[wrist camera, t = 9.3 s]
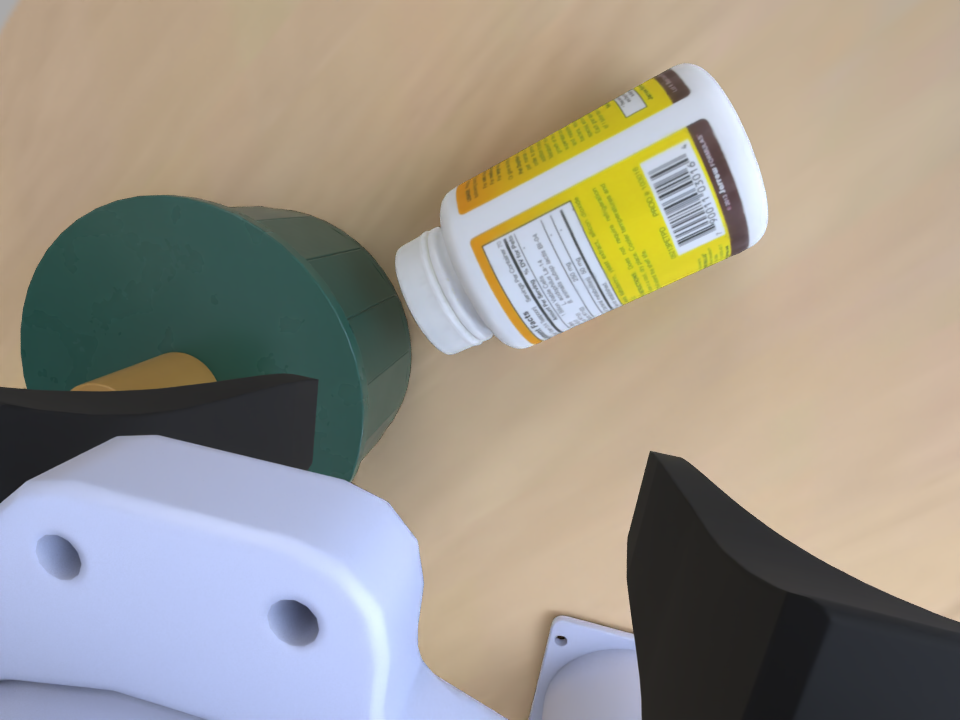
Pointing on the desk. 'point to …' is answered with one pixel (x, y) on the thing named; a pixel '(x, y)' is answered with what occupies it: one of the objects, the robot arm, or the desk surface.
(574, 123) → the supplement bottle
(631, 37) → the desk surface
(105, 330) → the lid
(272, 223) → the tin
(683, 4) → the desk surface
